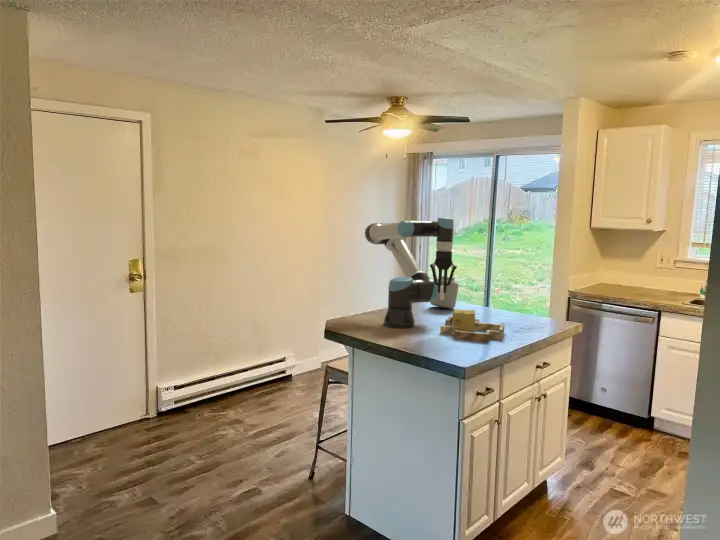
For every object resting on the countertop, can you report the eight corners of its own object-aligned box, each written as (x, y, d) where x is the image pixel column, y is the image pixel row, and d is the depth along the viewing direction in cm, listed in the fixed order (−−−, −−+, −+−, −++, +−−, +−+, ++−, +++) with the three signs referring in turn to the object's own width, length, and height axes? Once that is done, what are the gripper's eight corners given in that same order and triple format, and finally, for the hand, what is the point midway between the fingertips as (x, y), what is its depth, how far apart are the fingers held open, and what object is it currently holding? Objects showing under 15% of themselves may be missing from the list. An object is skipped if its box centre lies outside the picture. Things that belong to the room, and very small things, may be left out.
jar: (443, 304, 324) (445, 263, 321) (464, 308, 314) (466, 265, 311) (424, 308, 310) (426, 265, 307) (445, 312, 300) (447, 268, 297)
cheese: (474, 335, 249) (475, 314, 247) (451, 333, 251) (452, 312, 250) (474, 330, 259) (475, 310, 258) (451, 328, 261) (452, 308, 260)
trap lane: (437, 337, 243) (438, 327, 242) (447, 323, 272) (448, 314, 272) (501, 343, 235) (501, 333, 234) (504, 328, 264) (505, 319, 263)
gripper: (429, 250, 252) (426, 299, 254) (456, 251, 248) (454, 301, 251) (431, 249, 259) (429, 297, 262) (459, 250, 255) (456, 299, 258)
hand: (441, 299), depth 256 cm, fingers closed
